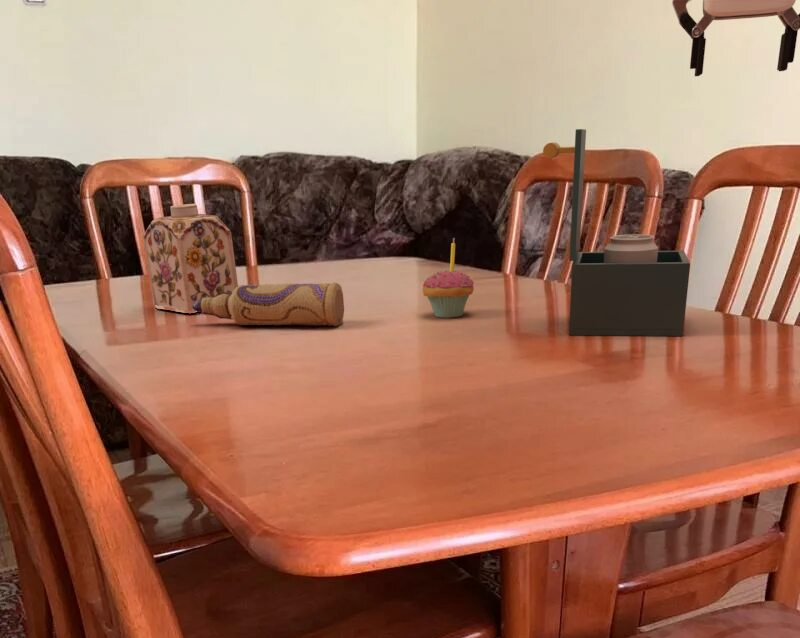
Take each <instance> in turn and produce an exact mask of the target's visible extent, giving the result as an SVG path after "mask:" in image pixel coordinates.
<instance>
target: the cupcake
mask: <svg viewBox="0 0 800 638" xmlns="http://www.w3.org/2000/svg"><path fill="white" fill-rule="evenodd" d="M455 239H456V238H455V237H453V238H452V243H451V245H450V259H449V260H450V261H449V262H450V263H449V270H444V271H443V270H440V271H438V272H436V273H434V274H433V275H431V276H429V277H427V278H426V279H425V280H424V283H423V284H422V294H423V295H422V296H424V297H427V299H428V301H429V303H430V306H431V309H432V313H433V315H434V317H436V318H442V319H450V318H451V319H452V318H458V317H461V316H463V315H464V313H465V312H464V311H465V307H466V305H467V301H468V299H469V297H470V296H471V295H472V294H473V293H474V290H475V287H474V284H475V282H474V280H473V279H472V278H470V277H471V276H468V275H467V274H465V273H463V272H460V271H456V270H455V257H456V243H455Z"/></svg>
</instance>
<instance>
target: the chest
mask: <svg viewBox="0 0 800 638" xmlns="http://www.w3.org/2000/svg"><path fill="white" fill-rule="evenodd" d="M690 270H691V261H690V260H689V258H688V256H687V254H686V252H685V250H658V255H657V263H604V251H579V252H578V254H577V257H576V259H575V261H572V264H571V275H570V278H571V279H570V283H571V284H570V298H569V299H570V301H569V321H568V323H569V324H568V335H569V336H605V337H606V336H610V337H611V336H613V337H614V336H615V337H617V336H618V337H622V336H623V337H683V336H684V329H685V320H686V319H685V318H686V309H687V300H688V292H689V291H688V289H689V281H690V273H691V272H690Z"/></svg>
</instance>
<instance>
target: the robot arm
mask: <svg viewBox="0 0 800 638" xmlns="http://www.w3.org/2000/svg"><path fill="white" fill-rule="evenodd" d="M691 1H692V0H672V2H671V5H672V8H673V11H674V13H675V16H676V18H677V21H678V24H679V25H680V26H681V28H682V29H683V31H685V32H686V34H688V36H689V37H690V39H691V40H692V42H691V52H690V62H689V69H690V70H694V77H700V76H702V75H703V71H704V64H705V53H706V52H705V51H706V43H707V38H706V37H705V32H706V30H707V29H708V27H709V26H710V25H711V23H712V22H713V21H728V20H744V19H756V18H768V17H775V16H777V18H778V19H779V20H780V22H781V23H782V25H783V26H784V33H782V34H781V37H780V45H779V53H778V60H777V67H776V71H778V72H785V71H787V70H788V67H789V64H790V63H794V60H795V53H796V47H797V39H798V32H799V30H800V12H799V13H797V12H796V10H795V8H794V5H795V3H796V1H797V0H702V15H703V16H702V17H701V18H700V20H699V21H698V22H697V21H695V20H694V18H693V17H692V15H690V14H689V11H688V8H687V4H688V3H689V2H691Z"/></svg>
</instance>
